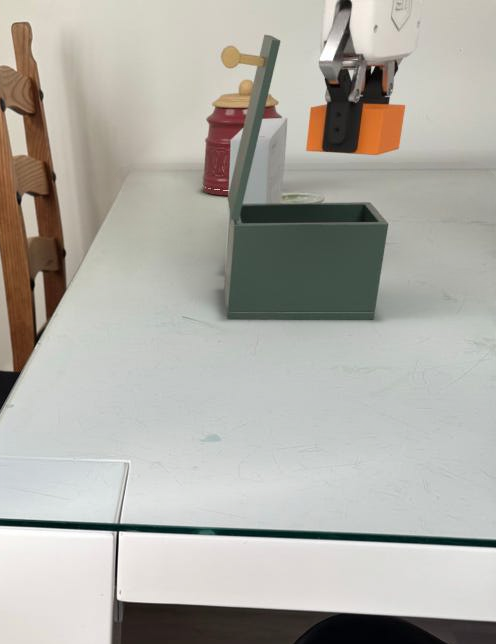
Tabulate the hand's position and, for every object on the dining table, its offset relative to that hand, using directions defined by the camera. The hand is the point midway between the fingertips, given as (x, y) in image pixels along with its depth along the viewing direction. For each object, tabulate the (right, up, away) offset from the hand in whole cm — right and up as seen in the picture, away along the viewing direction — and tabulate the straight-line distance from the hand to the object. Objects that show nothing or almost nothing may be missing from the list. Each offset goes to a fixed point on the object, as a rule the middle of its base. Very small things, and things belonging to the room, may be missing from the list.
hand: (352, 145), depth 92 cm
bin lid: (-6, +9, +14) cm, 17 cm away
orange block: (0, 0, 0) cm, 0 cm away
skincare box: (+1, +6, +44) cm, 44 cm away
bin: (+1, -7, +23) cm, 24 cm away
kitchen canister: (+9, +36, +89) cm, 96 cm away
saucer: (+13, +23, +69) cm, 74 cm away
